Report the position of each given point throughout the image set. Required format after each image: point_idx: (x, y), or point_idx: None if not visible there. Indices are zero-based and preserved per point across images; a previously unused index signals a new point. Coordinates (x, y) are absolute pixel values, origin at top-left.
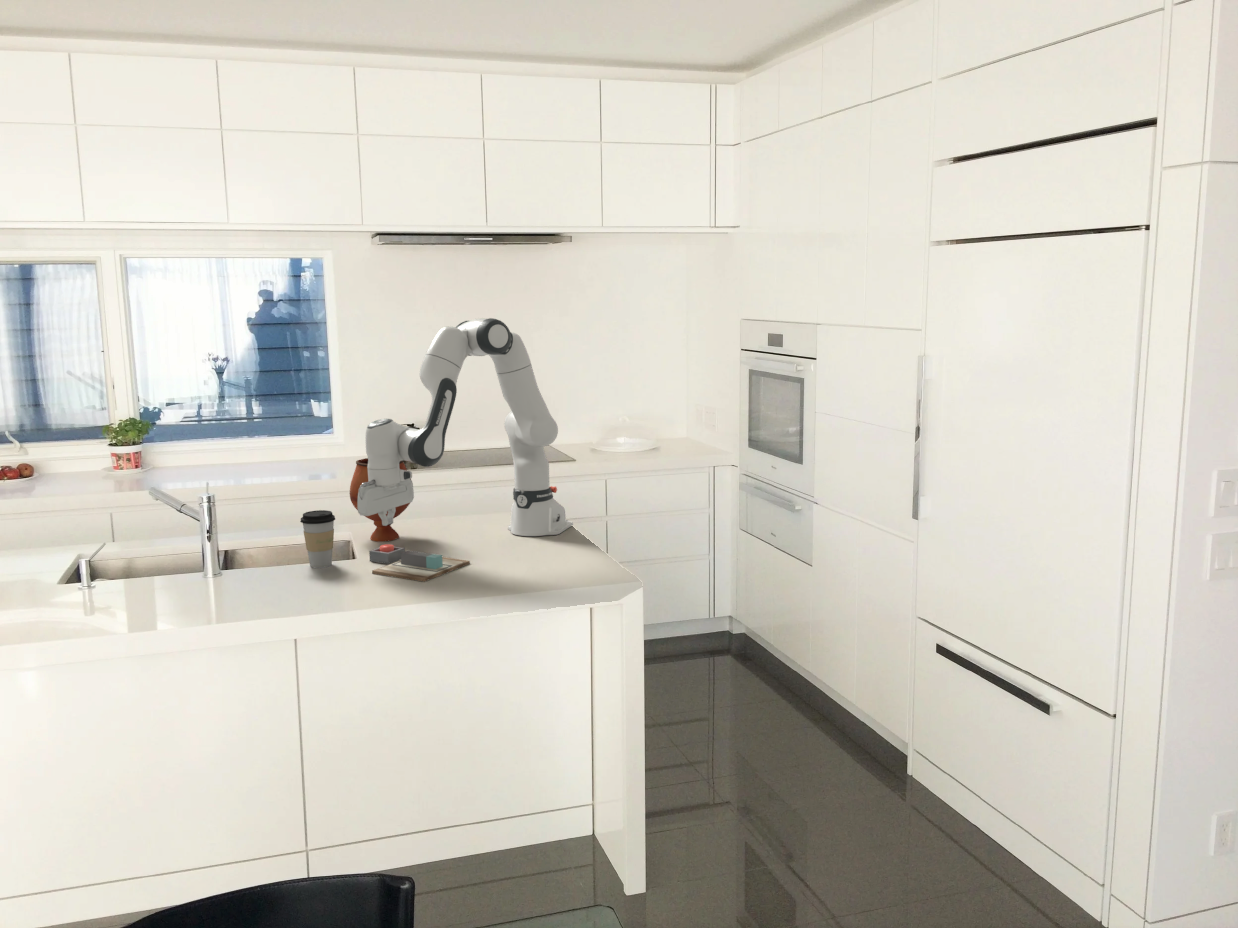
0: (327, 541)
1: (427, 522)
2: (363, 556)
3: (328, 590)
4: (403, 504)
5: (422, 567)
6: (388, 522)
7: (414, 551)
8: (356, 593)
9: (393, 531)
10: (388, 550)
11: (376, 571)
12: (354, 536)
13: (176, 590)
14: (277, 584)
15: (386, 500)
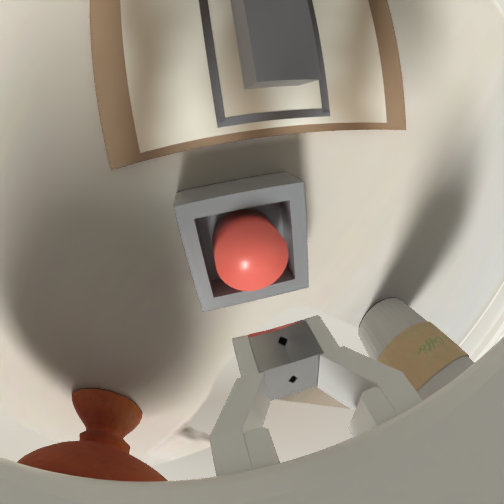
0: (437, 338)
1: (5, 407)
2: (260, 326)
3: (496, 132)
4: (90, 482)
5: None
6: (303, 332)
7: (254, 34)
8: (486, 61)
9: (85, 410)
10: (267, 222)
11: (404, 109)
12: (156, 441)
13: (492, 318)
14: (486, 252)
15: (470, 496)
